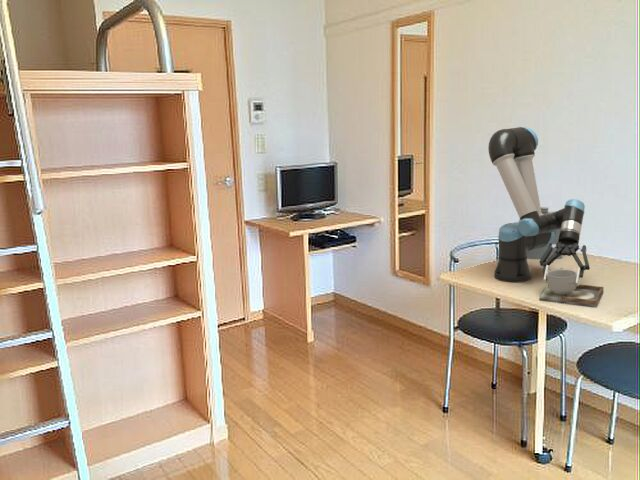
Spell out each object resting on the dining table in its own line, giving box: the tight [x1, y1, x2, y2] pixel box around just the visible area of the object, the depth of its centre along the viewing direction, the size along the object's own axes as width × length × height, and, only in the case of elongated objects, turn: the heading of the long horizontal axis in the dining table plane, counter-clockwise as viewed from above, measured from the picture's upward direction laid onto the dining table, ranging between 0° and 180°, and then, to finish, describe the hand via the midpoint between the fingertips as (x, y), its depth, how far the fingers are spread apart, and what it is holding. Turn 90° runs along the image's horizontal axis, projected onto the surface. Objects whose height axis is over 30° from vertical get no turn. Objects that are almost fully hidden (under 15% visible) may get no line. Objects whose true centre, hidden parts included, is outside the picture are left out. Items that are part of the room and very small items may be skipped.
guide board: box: [538, 283, 604, 308], centre depth 221 cm, size 20×18×2 cm
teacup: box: [546, 267, 577, 294], centre depth 222 cm, size 14×11×8 cm
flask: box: [527, 206, 564, 260], centre depth 272 cm, size 17×5×25 cm, turn 74°
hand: (560, 282), depth 219 cm, fingers closed on teacup, 11 cm apart
